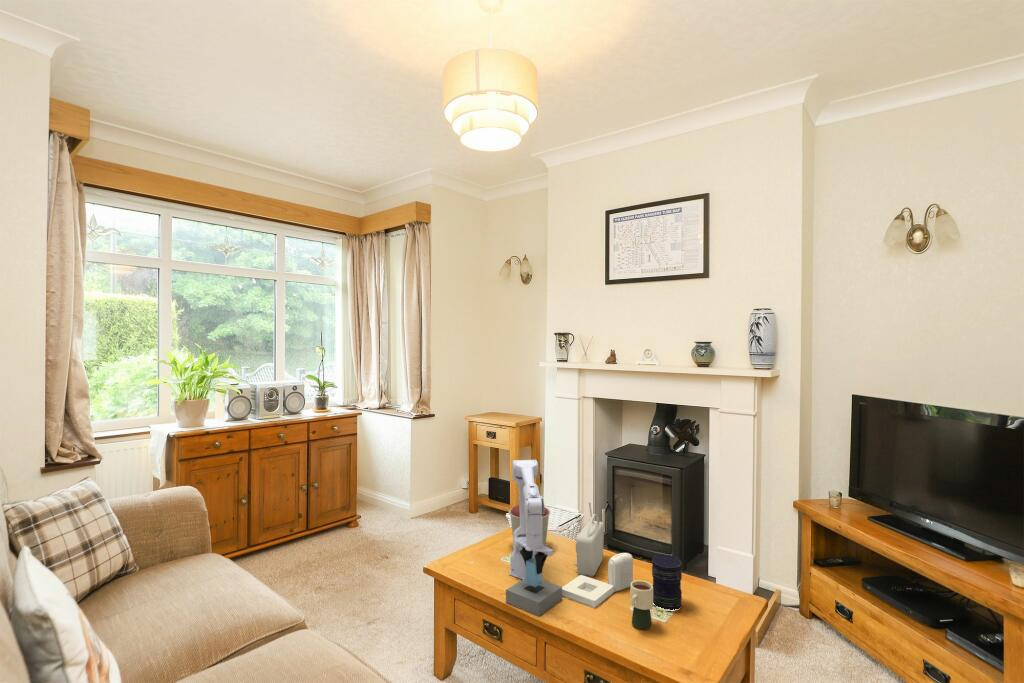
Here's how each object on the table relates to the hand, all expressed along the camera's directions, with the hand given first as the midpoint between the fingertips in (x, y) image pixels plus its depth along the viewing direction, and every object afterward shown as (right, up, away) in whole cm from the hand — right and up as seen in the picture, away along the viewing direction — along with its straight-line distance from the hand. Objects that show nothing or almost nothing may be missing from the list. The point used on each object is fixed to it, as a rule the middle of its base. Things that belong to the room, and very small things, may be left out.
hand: (534, 571), depth 181 cm
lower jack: (+19, -10, +5) cm, 23 cm away
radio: (+23, -11, +28) cm, 38 cm away
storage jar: (+46, -11, -2) cm, 47 cm away
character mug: (+34, -11, -15) cm, 39 cm away
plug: (0, -4, 0) cm, 4 cm away
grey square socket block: (0, -10, 0) cm, 10 cm away
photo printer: (+32, -11, +10) cm, 36 cm away
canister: (0, -10, +45) cm, 46 cm away
